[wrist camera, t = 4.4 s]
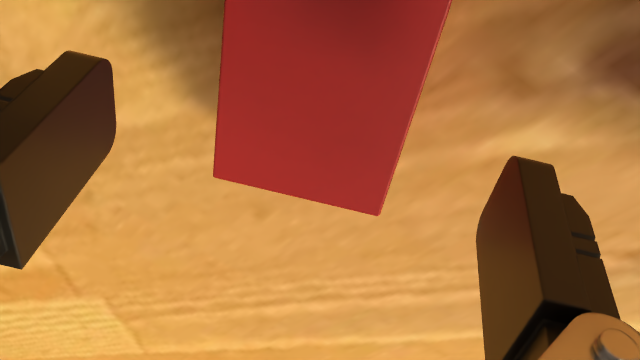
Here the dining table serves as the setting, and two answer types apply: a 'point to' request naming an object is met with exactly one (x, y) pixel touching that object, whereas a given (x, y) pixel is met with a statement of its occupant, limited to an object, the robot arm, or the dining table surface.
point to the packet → (321, 94)
